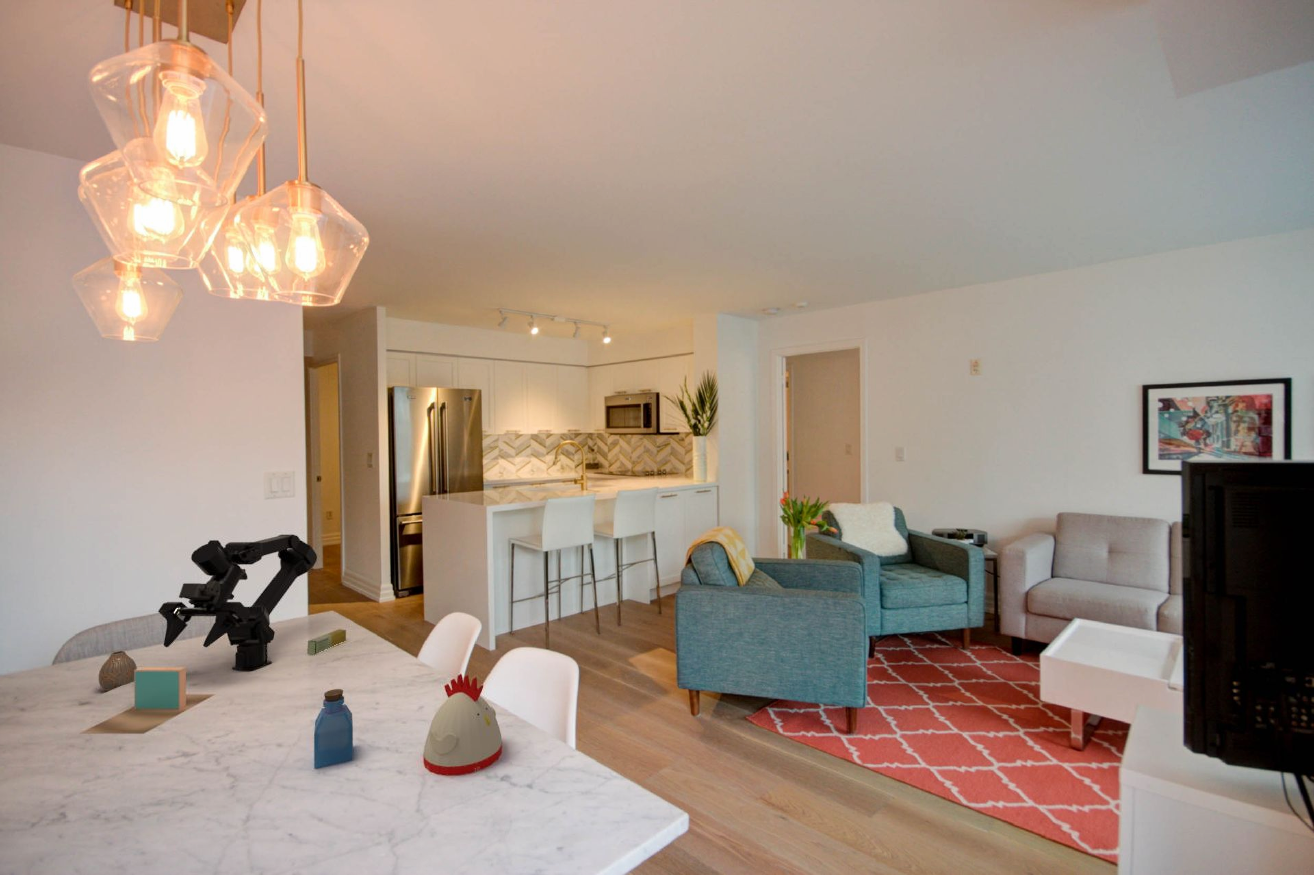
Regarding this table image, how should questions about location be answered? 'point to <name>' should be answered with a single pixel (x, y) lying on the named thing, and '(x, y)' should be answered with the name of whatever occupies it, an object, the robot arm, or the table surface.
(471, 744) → the kitchen timer
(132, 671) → the vase
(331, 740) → the perfume bottle
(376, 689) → the table surface
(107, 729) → the board
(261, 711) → the table surface
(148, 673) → the tile
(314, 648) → the medication box
